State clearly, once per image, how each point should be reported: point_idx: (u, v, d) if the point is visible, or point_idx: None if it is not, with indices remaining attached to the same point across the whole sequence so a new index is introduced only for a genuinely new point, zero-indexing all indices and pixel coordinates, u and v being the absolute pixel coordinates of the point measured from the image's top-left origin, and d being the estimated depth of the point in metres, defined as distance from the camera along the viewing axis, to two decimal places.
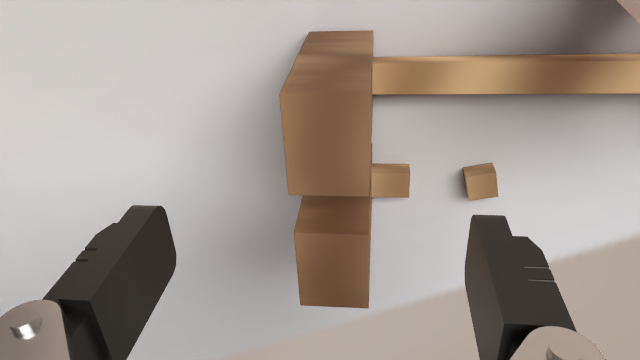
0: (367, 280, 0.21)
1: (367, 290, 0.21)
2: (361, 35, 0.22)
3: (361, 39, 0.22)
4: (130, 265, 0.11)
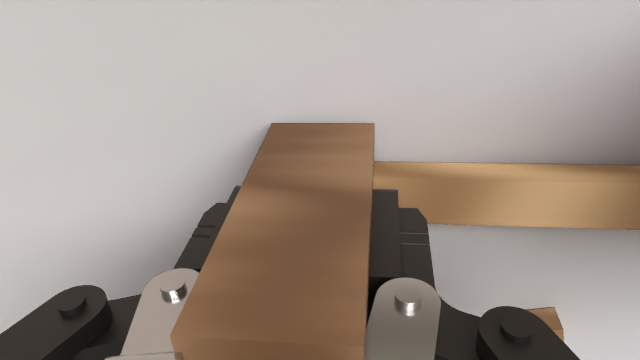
0: None
1: None
2: (354, 136, 0.13)
3: (354, 146, 0.13)
4: None
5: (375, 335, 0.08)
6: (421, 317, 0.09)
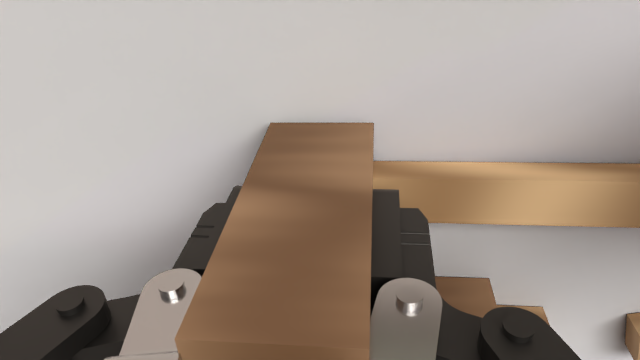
0: None
1: None
2: (354, 135, 0.13)
3: (354, 146, 0.13)
4: None
5: (377, 335, 0.08)
6: (423, 317, 0.09)
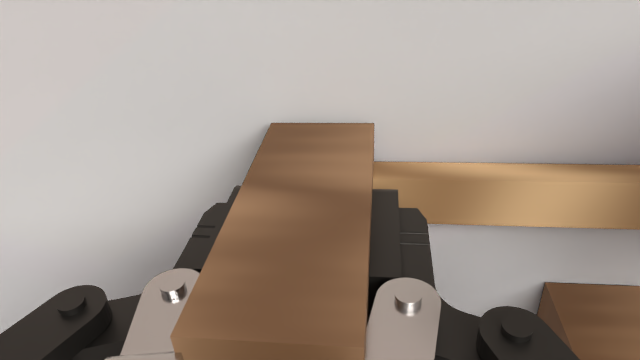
0: None
1: None
2: (354, 135, 0.13)
3: (354, 146, 0.13)
4: None
5: (375, 335, 0.08)
6: (421, 317, 0.09)
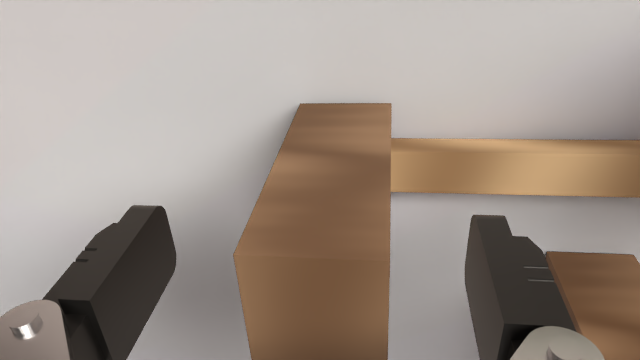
0: None
1: None
2: (374, 113, 0.15)
3: (374, 121, 0.15)
4: (130, 265, 0.11)
5: None
6: None
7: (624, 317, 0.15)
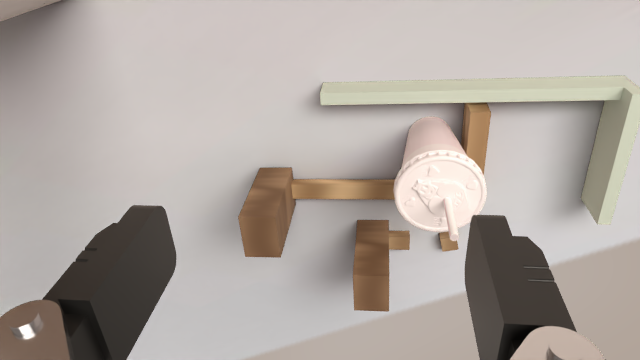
0: (388, 297, 0.42)
1: (388, 302, 0.42)
2: (284, 172, 0.45)
3: (283, 175, 0.44)
4: (130, 265, 0.11)
5: None
6: None
7: (372, 240, 0.45)
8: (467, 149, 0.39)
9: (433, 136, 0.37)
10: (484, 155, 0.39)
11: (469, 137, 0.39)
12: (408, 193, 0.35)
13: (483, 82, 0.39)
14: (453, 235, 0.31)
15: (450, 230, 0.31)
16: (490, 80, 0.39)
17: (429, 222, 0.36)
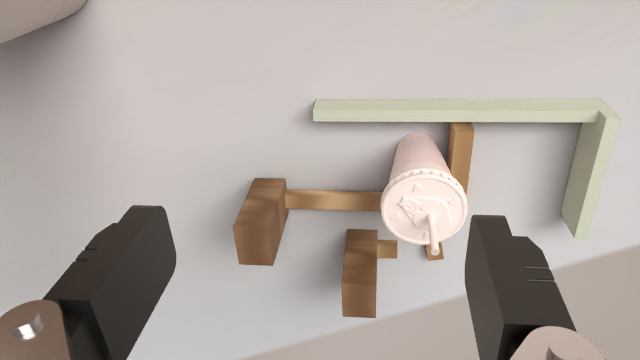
0: (375, 305, 0.44)
1: (375, 309, 0.44)
2: (278, 183, 0.47)
3: (277, 186, 0.46)
4: (130, 265, 0.11)
5: None
6: None
7: (361, 249, 0.47)
8: (451, 165, 0.41)
9: (419, 154, 0.39)
10: (468, 171, 0.41)
11: (453, 154, 0.41)
12: (393, 208, 0.37)
13: (468, 102, 0.41)
14: (434, 250, 0.33)
15: (432, 245, 0.33)
16: (474, 100, 0.41)
17: (413, 235, 0.38)
